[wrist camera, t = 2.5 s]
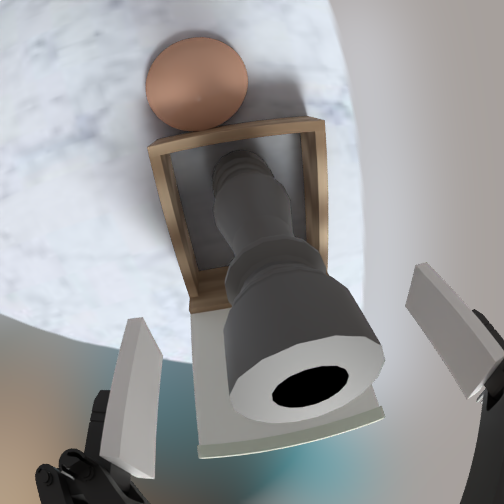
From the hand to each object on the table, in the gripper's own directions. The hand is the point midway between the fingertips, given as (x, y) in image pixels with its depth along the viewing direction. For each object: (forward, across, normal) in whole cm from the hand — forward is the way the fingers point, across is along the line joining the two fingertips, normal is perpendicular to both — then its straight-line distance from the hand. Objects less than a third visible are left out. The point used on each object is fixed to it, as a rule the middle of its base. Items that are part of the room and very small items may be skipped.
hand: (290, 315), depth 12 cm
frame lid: (+14, 0, -13) cm, 19 cm away
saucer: (+21, -3, +11) cm, 24 cm away
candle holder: (+21, 0, 0) cm, 21 cm away
